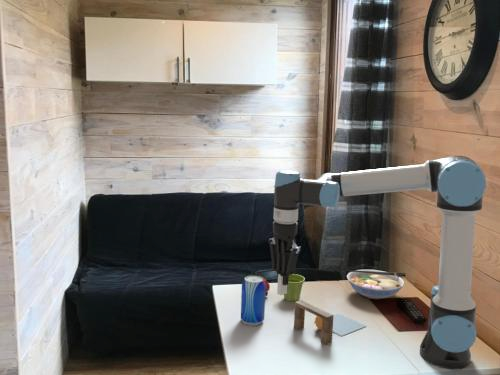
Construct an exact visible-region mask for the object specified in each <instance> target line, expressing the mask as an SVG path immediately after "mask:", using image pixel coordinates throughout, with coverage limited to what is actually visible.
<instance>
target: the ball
mask: <svg viewBox="0 0 500 375" xmlns="http://www.w3.org/2000/svg"><path fill="white" fill-rule="evenodd" d="M314 322H315V323H314V325H315V327H316V328H317V329H319V330H320V331H322V318H320V317H318V316H316V315H315V318H314Z"/></svg>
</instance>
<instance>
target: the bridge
mask: <svg viewBox="0 0 500 375" xmlns="http://www.w3.org/2000/svg"><path fill="white" fill-rule="evenodd" d="M306 312H308V313H310V314H311V315H314V316H315V317H316V316H318V317H320V318H322V330H321V338H320V343H321V344H323V345H324V346H327V345H329V344H331V343H333V332H332V331H333V316H334V315H335V314H332V313H330V312H328V311H326V310H324V309H321V308H319V307H318V306H315V305H313V304H311V303H309V302H306V301H305V300H303V299H299V300H298V301H297V300H296V301H294V318H293V321H294V322H293V329H294V330H297V331H299V330H302V329H305V315H306Z"/></svg>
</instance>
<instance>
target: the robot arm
mask: <svg viewBox="0 0 500 375" xmlns="http://www.w3.org/2000/svg"><path fill="white" fill-rule="evenodd" d="M274 178H275V179H274V180H275V181H274V194H273V196H274V197H273V198H274V199H273V220H274V221H273V222H272V232H273V237H272V238H268V239H267V241H268V245H269V249H270V258H271V267H272V268H271V269H272V270H274V271H275V272H276V283H277V291H276V293H277V295H278V296H284V294H287V285H288V280H289V275H291V274H295V272H296V271H295V270H296V267H297V263H298V258H299V255H300V253H301V251H302V247H301V246H298V245H297V243H296V242H297V240H296V235H297V234H298V225H299V224H298V220H299V205H309V206H318V207H324V208H329V207H331V208H334V207H335V208H336V207H337V206H338V204H339V201H340V197H341V198H342V197H351V196H361V195H372V194H373V195H374V194H383V193H395V192H407V191H419V190H427V191H429V193H434V192H435V193H436V208H437V209H438V210H439V211H440V212H441V225H440V226H441V227H440V228H441V230H440V232H441V233H440V248H439V250H440V251H439V267H438V268H439V270H438V284H437V285H434V286H433V287H432V289H431V293H430V296H431V297H430V306H429V315H428V325H427V331H426V333H425V334H424V336H423V339H422V340H421V343H420V345H419V354H420V357H421V358H422V359H424V360H425V361H426V362H428V363H429V364H431V365H435V366H437V367H441V368H445V369H450V370H451V369H452V370H455V369H456V370H458V369H464V368H467V367H468V366H469V365H470V364H471V360H472V359H471V358H472V355H471V351H470V349H471V348H472V347H473V345H474V344H475V342H476V340H477V334H478V333H477V329H476V310H477V309H476V308H477V306H476V305H477V303H476V301H475V300H474V299H473V298H472V279H473V277H472V275H473V264H474V263H473V261H474V246H475V244H474V242H475V229H476V228H475V227H476V215H477V214H479V212H481V211H482V210H483V196H484V193H485V190H486V187H487V182H486V181H487V180H486V175H485V174H484V171H483V169H482V168H481V167H480V166H479V165H478V164H477V163H476V162H475V161H474V160H473V159H471V158H470V157H467V156H465V155H464V156H463V155H453V156H448V157H447V156H446V157H441V158H437V159H430V160H429V159H428V160H426V161H425V163H423V164H414V165H403V166H395V167H386V168H385V167H384V168H376V169H365V170H356V171H348V172H345V171H344V172H340V173H339V172H338V173H332V172H326V173H322V174H321V175H319V177H317V179H306V178H305V179H304V178H301V173H300V172H299V171H295V170H279V171H278V172H276V174H275V177H274Z"/></svg>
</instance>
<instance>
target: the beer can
mask: <svg viewBox="0 0 500 375" xmlns="http://www.w3.org/2000/svg"><path fill="white" fill-rule="evenodd" d="M263 278H264V277H263ZM263 278H262V276H260V275H259V276H258V275H248V276H245V277H244V280H243V282H242V283H241V295H240V298H241V299H240V300H241V301H240V320H241V321H242V322H243V324H244V325H247V326H252V327H253V326H259V325H261V324H262V323H263V321H264V320H265V311H266V310H265V309H266V308H265V307H266V296H265V288H266V285H265V283H264V281H263Z"/></svg>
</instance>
